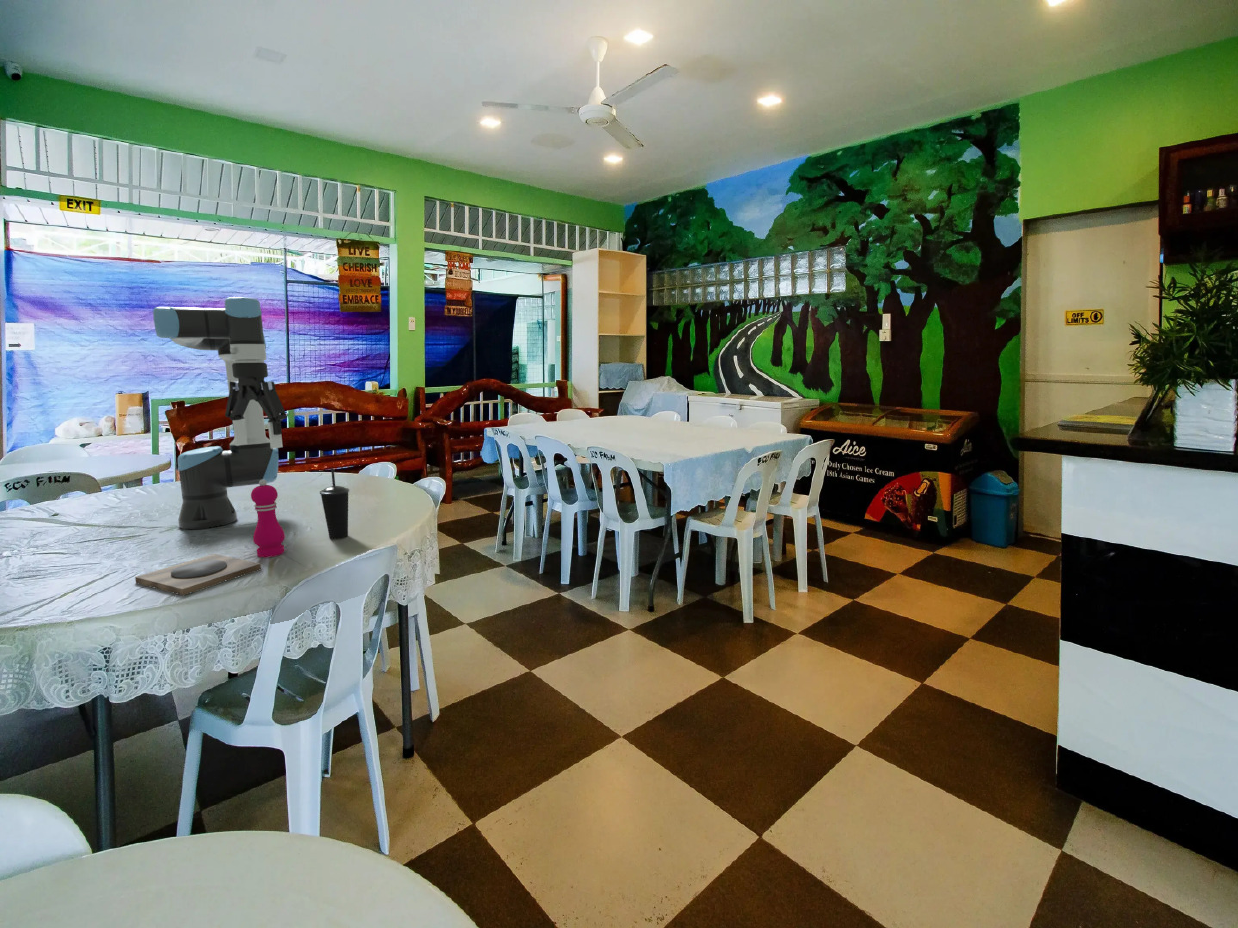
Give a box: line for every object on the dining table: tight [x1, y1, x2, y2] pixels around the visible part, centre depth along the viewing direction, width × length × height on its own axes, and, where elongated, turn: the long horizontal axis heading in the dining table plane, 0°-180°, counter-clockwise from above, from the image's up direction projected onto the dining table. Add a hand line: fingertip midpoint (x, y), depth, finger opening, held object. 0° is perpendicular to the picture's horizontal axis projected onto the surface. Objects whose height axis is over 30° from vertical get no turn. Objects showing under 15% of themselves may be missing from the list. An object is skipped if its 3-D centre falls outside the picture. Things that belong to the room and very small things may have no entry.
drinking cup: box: [319, 467, 350, 540], centre depth 174 cm, size 8×8×20 cm
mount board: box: [134, 553, 262, 596], centre depth 145 cm, size 18×18×2 cm
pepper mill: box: [250, 479, 286, 558], centre depth 160 cm, size 7×7×20 cm
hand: (258, 446), depth 156 cm, fingers open, 13 cm apart
